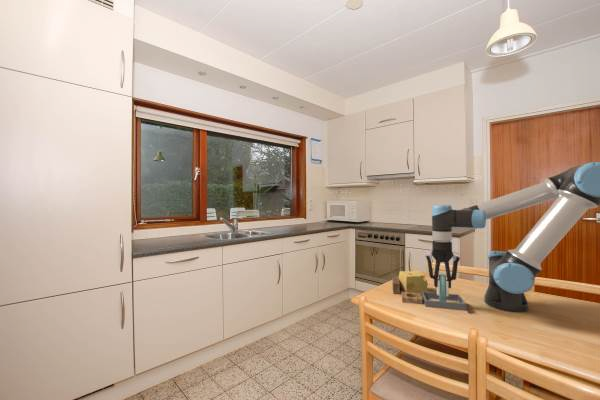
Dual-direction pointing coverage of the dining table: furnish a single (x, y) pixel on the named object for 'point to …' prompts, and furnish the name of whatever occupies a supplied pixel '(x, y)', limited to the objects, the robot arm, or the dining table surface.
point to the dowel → (442, 288)
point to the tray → (444, 305)
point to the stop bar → (396, 285)
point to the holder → (411, 297)
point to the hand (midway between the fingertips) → (442, 294)
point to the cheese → (413, 282)
